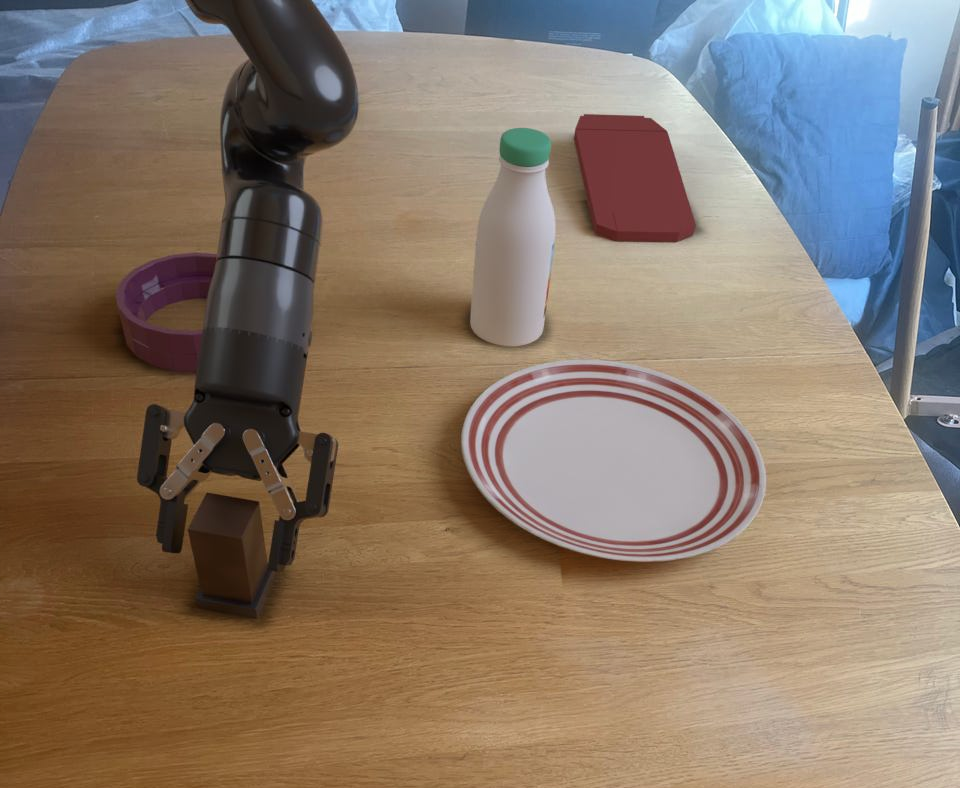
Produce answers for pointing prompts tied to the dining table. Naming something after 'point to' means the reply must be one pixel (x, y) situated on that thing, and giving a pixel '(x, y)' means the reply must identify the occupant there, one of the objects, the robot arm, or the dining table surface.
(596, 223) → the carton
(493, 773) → the dining table surface
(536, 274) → the milk bottle
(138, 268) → the ring
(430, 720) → the dining table surface
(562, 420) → the dinner plate
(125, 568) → the dining table surface
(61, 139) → the dining table surface
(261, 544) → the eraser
